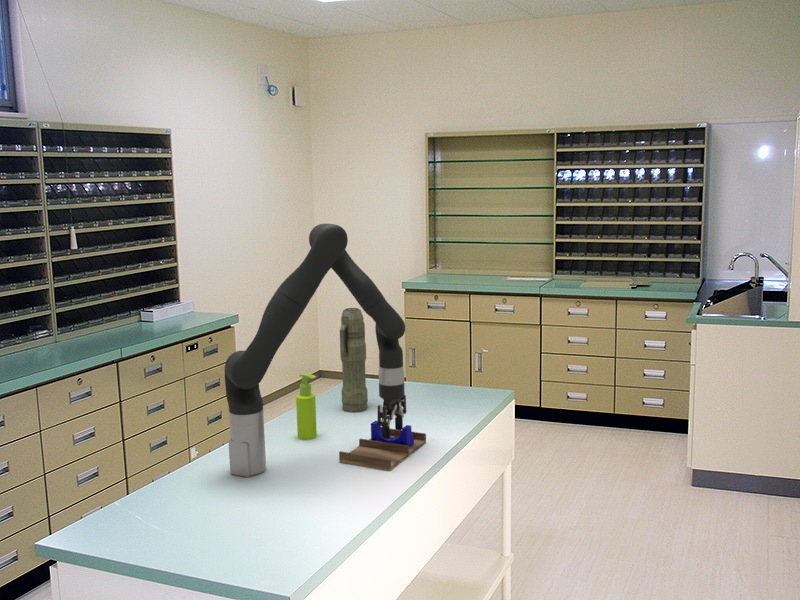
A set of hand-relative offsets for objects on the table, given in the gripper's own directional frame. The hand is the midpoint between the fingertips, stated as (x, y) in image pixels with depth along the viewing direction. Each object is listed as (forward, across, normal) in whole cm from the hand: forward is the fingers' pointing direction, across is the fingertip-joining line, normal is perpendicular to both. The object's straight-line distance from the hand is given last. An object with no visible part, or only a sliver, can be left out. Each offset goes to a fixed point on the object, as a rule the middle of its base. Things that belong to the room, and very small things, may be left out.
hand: (392, 433), depth 233 cm
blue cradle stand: (+3, 0, 0) cm, 3 cm away
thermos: (+4, +28, +29) cm, 41 cm away
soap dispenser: (+4, -3, +28) cm, 28 cm away
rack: (+4, -6, 0) cm, 7 cm away
